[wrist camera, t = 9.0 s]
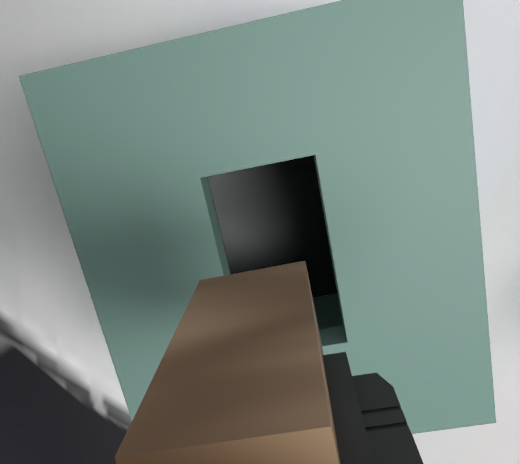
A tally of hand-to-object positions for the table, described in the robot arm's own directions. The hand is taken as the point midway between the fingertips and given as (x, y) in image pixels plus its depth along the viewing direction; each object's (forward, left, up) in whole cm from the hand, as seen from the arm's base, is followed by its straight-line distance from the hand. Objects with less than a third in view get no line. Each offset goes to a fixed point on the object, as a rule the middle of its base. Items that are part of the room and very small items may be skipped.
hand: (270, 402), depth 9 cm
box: (0, 0, -22) cm, 22 cm away
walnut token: (0, 0, -1) cm, 1 cm away
